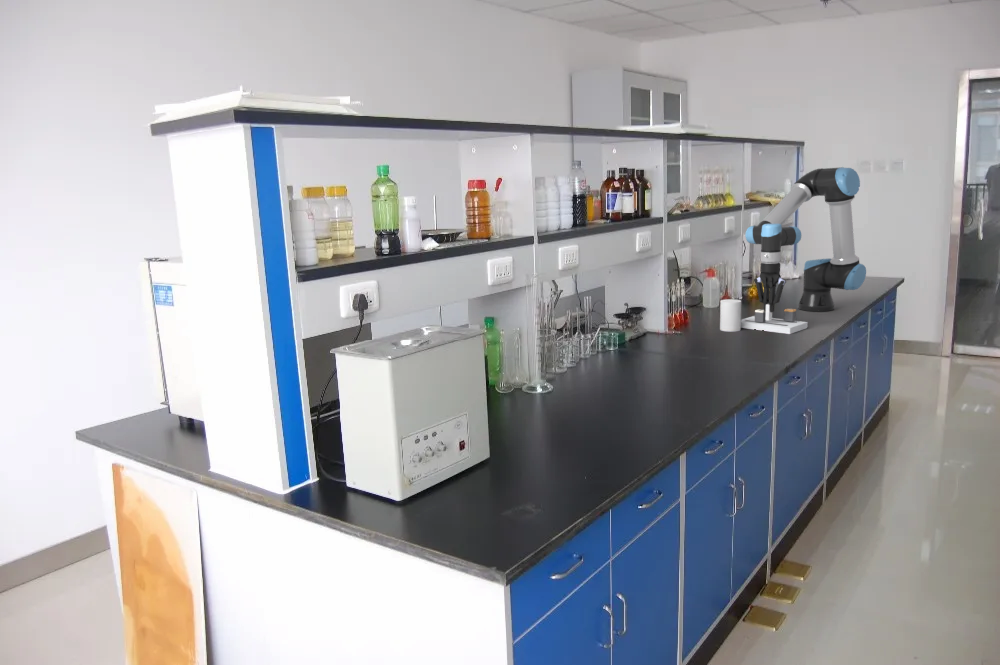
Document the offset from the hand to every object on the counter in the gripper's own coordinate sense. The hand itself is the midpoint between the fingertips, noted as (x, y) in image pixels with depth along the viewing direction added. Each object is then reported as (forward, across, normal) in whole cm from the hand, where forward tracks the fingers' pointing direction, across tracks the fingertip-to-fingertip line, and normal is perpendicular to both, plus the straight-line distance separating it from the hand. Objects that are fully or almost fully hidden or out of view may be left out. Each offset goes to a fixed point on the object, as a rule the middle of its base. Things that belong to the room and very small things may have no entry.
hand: (768, 319), depth 300 cm
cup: (+4, -12, -9) cm, 16 cm away
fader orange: (+1, +5, +8) cm, 10 cm away
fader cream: (+1, -4, 0) cm, 4 cm away
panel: (+4, -1, +4) cm, 6 cm away
